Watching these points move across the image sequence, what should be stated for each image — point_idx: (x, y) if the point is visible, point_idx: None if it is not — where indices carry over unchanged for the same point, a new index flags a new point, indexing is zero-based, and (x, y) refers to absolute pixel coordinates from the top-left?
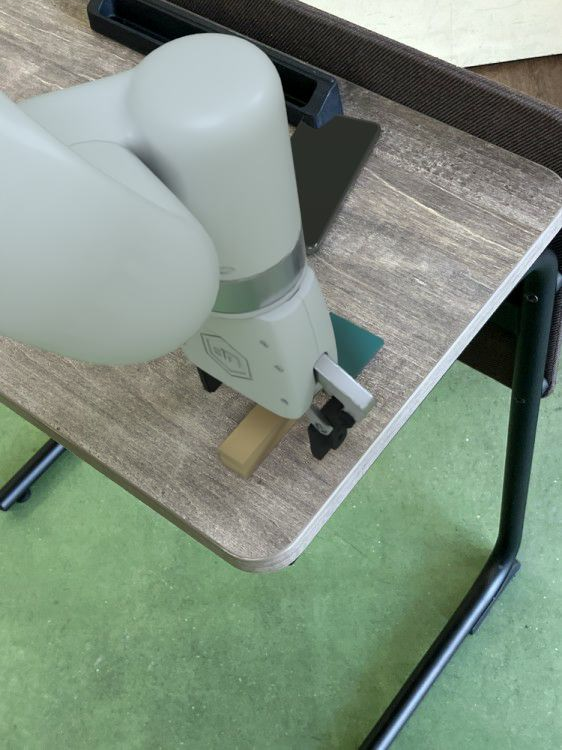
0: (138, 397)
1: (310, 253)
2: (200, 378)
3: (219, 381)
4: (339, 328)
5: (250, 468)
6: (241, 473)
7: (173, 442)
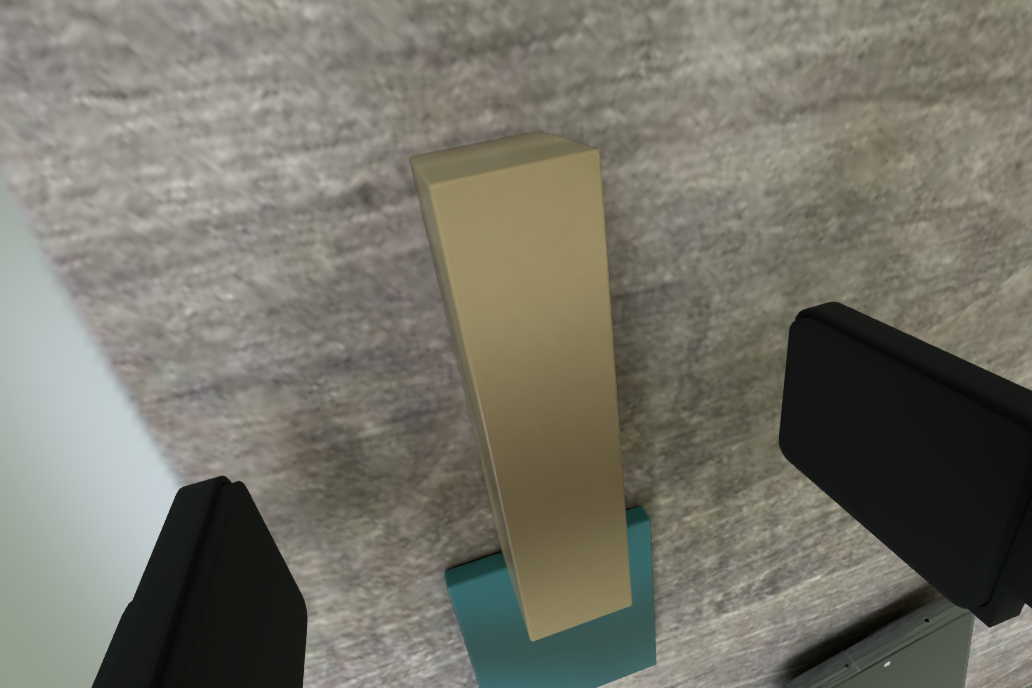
0: (977, 86)
1: (790, 686)
2: (915, 338)
3: (807, 373)
4: (605, 664)
5: (423, 206)
6: (437, 157)
7: (770, 44)
